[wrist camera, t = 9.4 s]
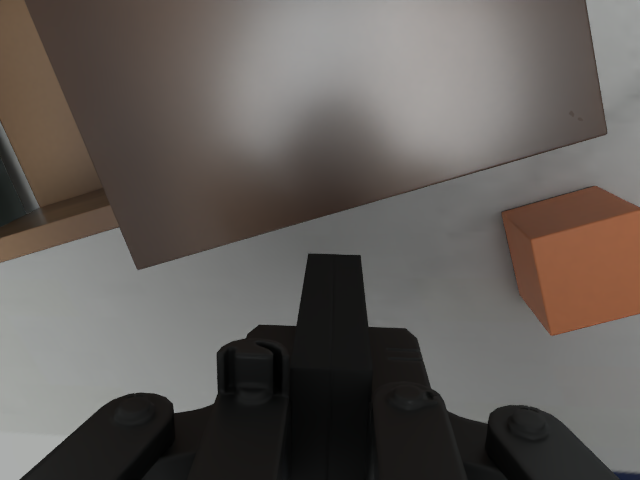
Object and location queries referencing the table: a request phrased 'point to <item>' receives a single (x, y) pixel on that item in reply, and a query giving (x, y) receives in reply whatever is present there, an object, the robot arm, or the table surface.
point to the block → (576, 258)
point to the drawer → (42, 148)
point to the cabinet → (308, 103)
